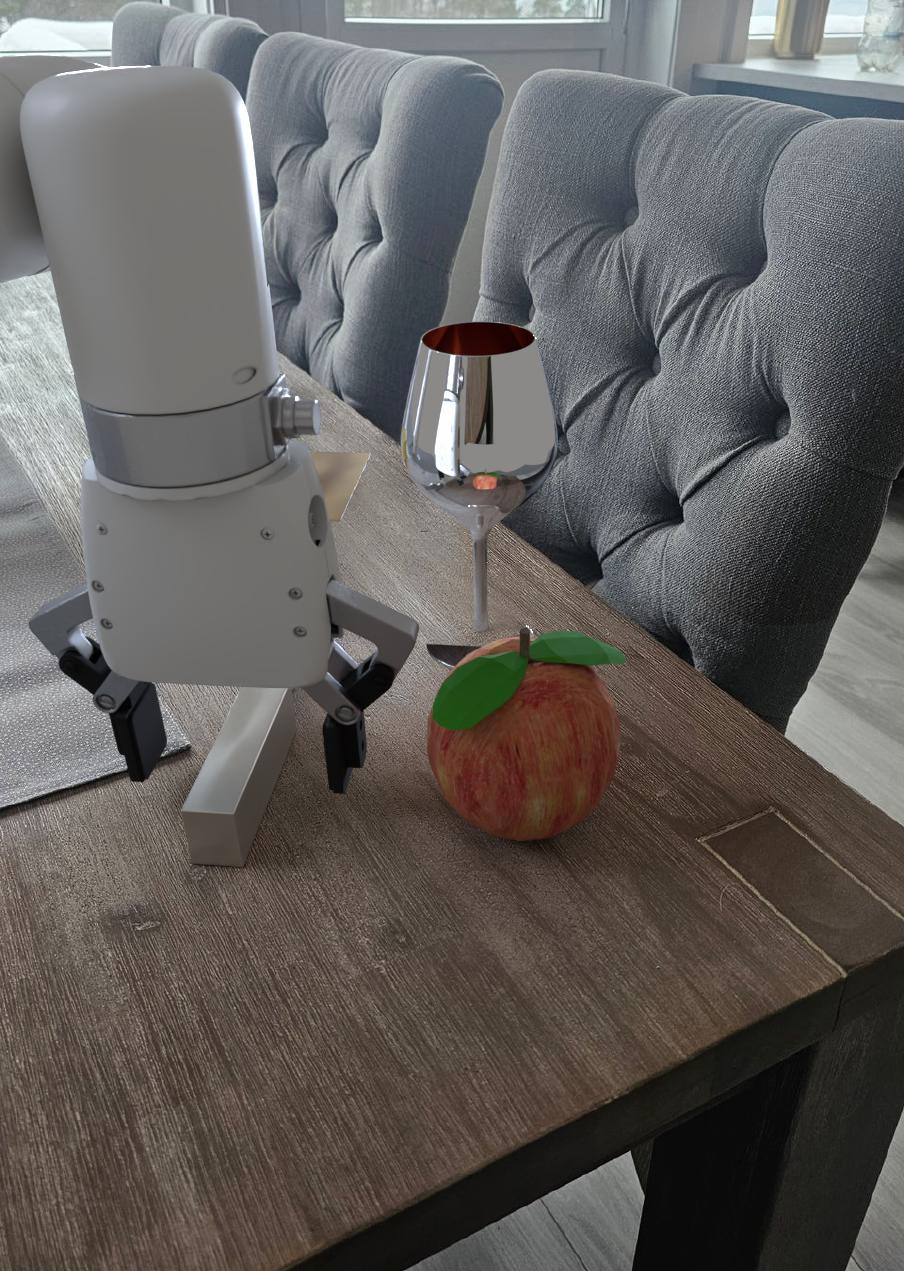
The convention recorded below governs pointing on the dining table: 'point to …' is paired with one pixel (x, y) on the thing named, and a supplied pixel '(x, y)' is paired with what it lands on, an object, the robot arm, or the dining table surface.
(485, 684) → the fruit
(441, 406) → the wineglass
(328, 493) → the board
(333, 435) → the dining table surface
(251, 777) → the knife
